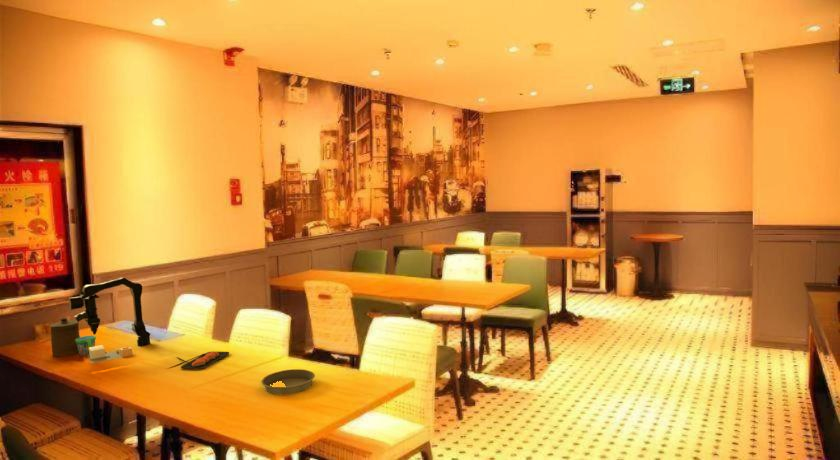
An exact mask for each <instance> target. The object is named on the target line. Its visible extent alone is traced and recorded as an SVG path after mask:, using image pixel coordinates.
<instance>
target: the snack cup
mask: <svg viewBox="0 0 840 460" xmlns="http://www.w3.org/2000/svg"><path fill="white" fill-rule="evenodd" d="M96 339H97V338H96V336H95V335H84V336H80V338H77V339H75V342H76V343H77V347H78V350H79V352H78V354H79V356H80V357H81V356H82V357H83V356H85V355H86V356H87V355H89V347H94V346H96Z"/></svg>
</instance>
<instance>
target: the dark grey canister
mask: <svg viewBox="0 0 840 460" xmlns="http://www.w3.org/2000/svg"><path fill="white" fill-rule="evenodd" d="M79 324H80V323H79V322H77V320H75V319H74V320H68V317H66V316H62V317H60V321H58V322H54V323H52V324H50V325H49V329H50V343H51V353H52V354H51V355H52V356H53V357H67V356H71V355H76V354H79V350H78V347H77V343H76V342H75V339H77V338H80V337H81V336H80V335H81V334H80V328H79V326H80V325H79ZM75 353H76V354H75Z"/></svg>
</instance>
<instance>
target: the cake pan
mask: <svg viewBox="0 0 840 460" xmlns="http://www.w3.org/2000/svg"><path fill="white" fill-rule="evenodd" d="M315 377H316V375H315V372H313V371H310V370H307V369H301V368H299V369H285V370H280V371H276V372H272V373H270V374H268V375H266V376H264V377H263V378H262V379H261V381H260V382H261V384H262V386H264V388H265V391H266V393H268V392H269V394H272V395H276V394H279V396H283V395H285V394H287V395H292V394H293V395H294V394H298V393H301V392H303V391H306V390H308V389H310V388H311V387H312V385H313V380H314V379H315ZM277 381H278V382H279V381H282V383H284V384H285V386H286V387H272V386H270V384H271V385H273V383H276V382H277ZM280 394H282V395H280ZM285 396H286V395H285Z"/></svg>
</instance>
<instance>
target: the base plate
mask: <svg viewBox="0 0 840 460" xmlns="http://www.w3.org/2000/svg"><path fill="white" fill-rule="evenodd" d="M105 355H106V356H105V357H100V358H95V359H91V358H90V356H89V354H86V356H87V358H88V360H89V361H90V363H91V364H94V363H95V364H96V363H100V362H105V361H111V360H116V359H120V358H121V359H122V357H121V355H120V348H119V349H118V348H117V349H115V350H112V351H105ZM131 356H132V355H130V356H129V357H131ZM126 357H127V356H125V357H124V358H126Z"/></svg>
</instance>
